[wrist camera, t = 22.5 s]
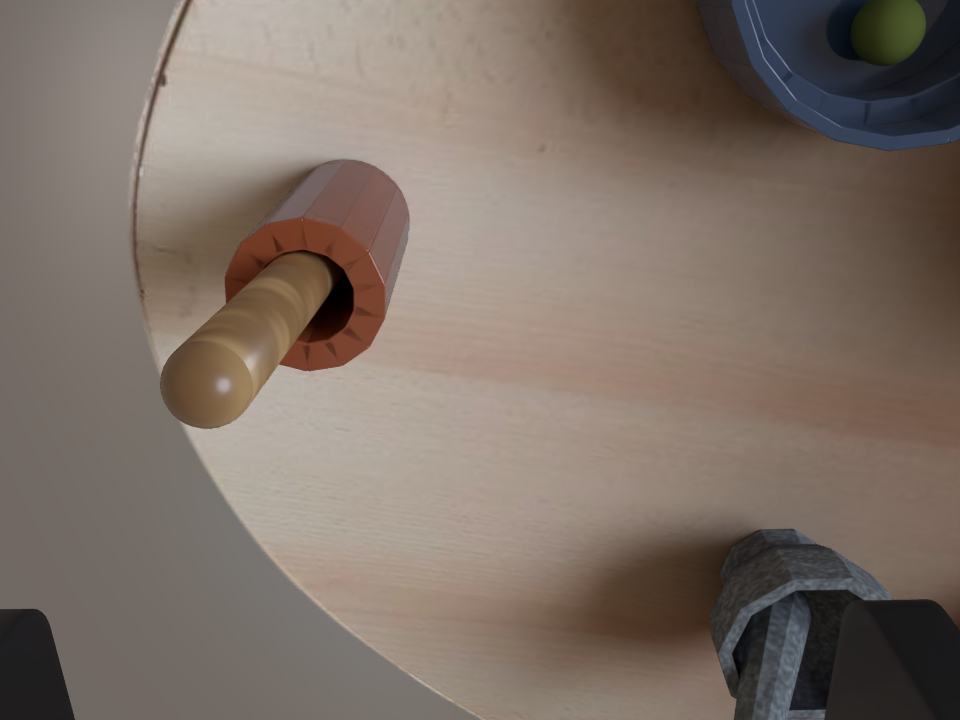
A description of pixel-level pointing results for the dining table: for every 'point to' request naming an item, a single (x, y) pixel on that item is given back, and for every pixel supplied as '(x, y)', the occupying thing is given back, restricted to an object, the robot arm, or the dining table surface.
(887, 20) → the olive
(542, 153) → the dining table surface
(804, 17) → the bowl
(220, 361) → the stick
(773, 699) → the mortar and pestle
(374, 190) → the crock
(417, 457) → the dining table surface
